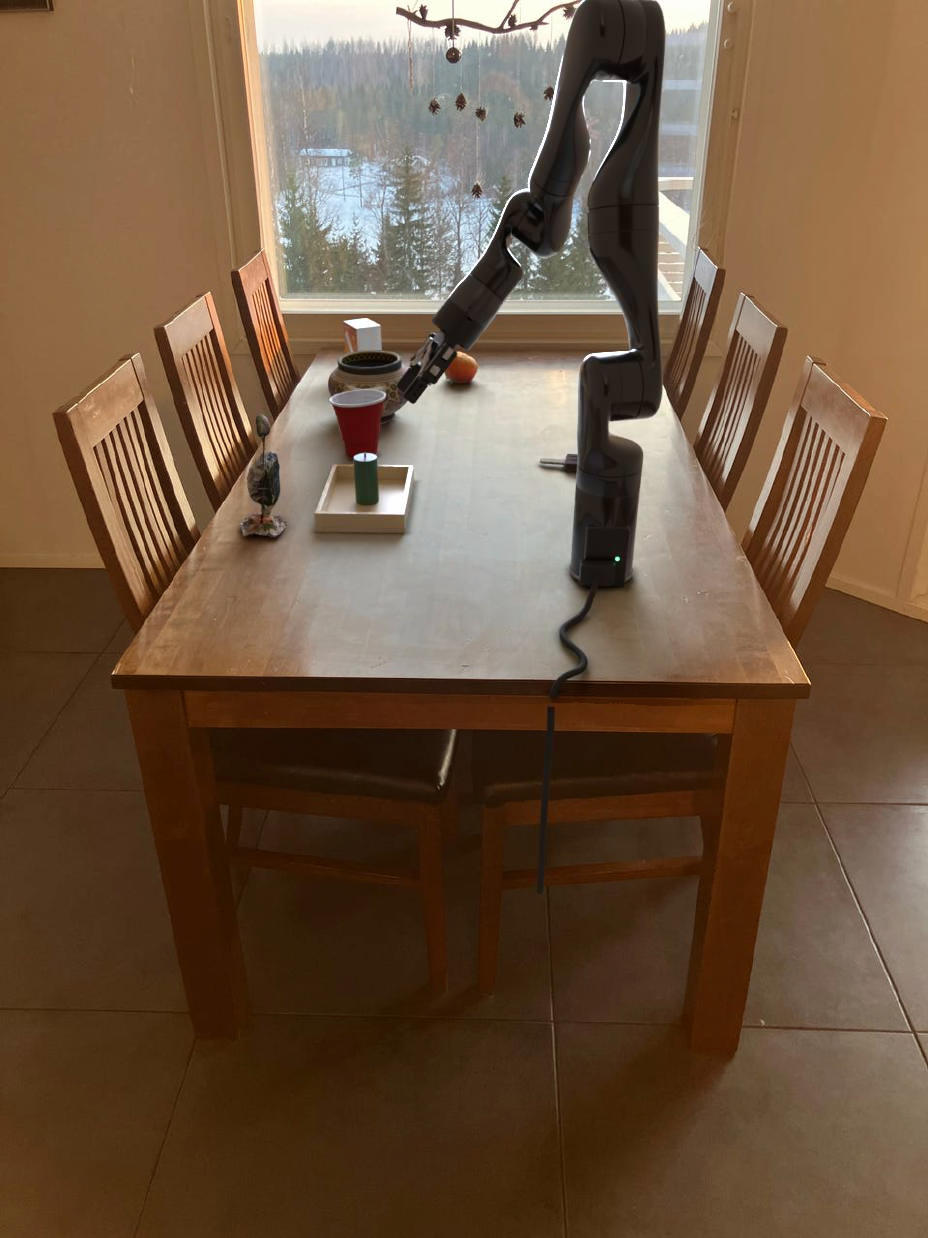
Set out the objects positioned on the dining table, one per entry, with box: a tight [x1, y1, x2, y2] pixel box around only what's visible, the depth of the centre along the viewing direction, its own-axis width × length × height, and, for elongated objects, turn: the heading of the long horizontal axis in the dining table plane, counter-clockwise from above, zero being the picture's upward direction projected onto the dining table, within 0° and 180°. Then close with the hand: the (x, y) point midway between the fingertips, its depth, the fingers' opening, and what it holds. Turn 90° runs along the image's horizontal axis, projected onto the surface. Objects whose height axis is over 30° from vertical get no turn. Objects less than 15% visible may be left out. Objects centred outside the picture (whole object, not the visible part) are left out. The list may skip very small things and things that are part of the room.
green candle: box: [352, 453, 379, 505], centre depth 167 cm, size 4×4×9 cm
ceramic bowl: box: [327, 349, 409, 425], centre depth 206 cm, size 24×18×15 cm
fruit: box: [444, 351, 479, 386], centre depth 231 cm, size 8×8×8 cm
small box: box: [343, 317, 383, 354], centre depth 231 cm, size 8×6×13 cm
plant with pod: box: [239, 413, 288, 538], centre depth 157 cm, size 8×11×20 cm
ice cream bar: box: [539, 453, 578, 473], centre depth 185 cm, size 5×2×15 cm
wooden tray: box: [314, 463, 415, 534], centre depth 169 cm, size 22×15×3 cm
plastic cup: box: [328, 389, 386, 461], centre depth 188 cm, size 11×11×12 cm
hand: (404, 394), depth 156 cm, fingers open, 8 cm apart
